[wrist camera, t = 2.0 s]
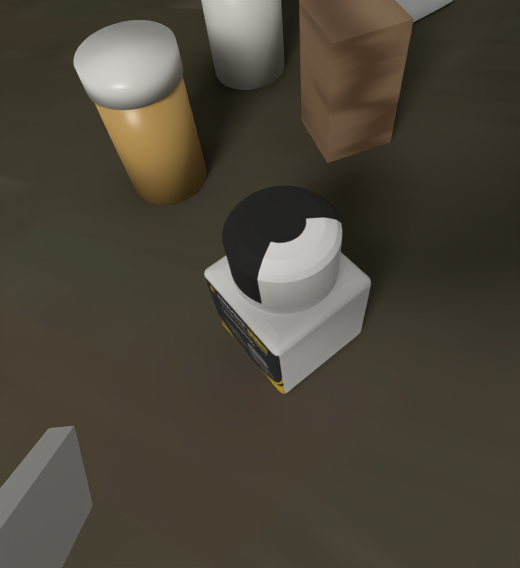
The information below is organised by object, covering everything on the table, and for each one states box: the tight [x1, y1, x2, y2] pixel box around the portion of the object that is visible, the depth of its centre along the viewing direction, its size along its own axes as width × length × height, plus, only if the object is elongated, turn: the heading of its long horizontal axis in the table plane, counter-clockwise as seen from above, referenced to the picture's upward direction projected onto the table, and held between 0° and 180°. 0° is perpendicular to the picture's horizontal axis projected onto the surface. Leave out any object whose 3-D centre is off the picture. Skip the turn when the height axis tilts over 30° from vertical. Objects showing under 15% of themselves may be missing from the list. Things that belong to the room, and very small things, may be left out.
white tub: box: [201, 0, 285, 90], centre depth 44 cm, size 8×8×13 cm
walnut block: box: [299, 0, 414, 163], centre depth 38 cm, size 6×6×11 cm
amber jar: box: [74, 20, 207, 205], centre depth 37 cm, size 7×7×12 cm
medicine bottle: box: [204, 186, 371, 393], centre depth 28 cm, size 7×7×12 cm
